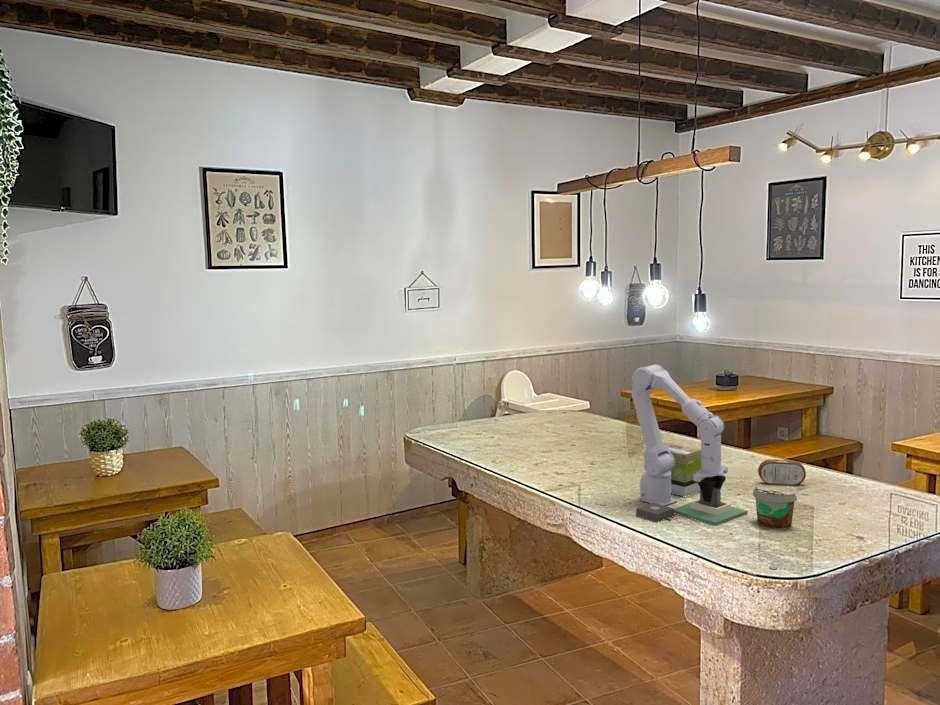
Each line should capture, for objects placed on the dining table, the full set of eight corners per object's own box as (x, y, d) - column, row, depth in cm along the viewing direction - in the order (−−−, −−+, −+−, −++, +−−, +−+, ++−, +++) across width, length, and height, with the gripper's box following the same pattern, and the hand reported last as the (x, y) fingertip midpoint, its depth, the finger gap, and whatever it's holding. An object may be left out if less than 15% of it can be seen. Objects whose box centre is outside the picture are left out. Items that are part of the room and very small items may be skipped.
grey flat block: (636, 515, 224) (636, 507, 224) (653, 510, 229) (653, 502, 228) (662, 524, 216) (662, 515, 216) (680, 518, 221) (680, 509, 220)
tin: (804, 484, 251) (805, 460, 250) (806, 486, 248) (806, 462, 247) (757, 482, 255) (758, 458, 255) (758, 484, 252) (759, 460, 252)
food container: (745, 523, 214) (745, 490, 213) (754, 518, 219) (754, 485, 218) (787, 533, 206) (788, 498, 205) (796, 527, 210) (797, 493, 209)
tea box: (647, 488, 251) (647, 446, 250) (664, 482, 258) (664, 441, 256) (685, 498, 240) (685, 453, 238) (702, 491, 246) (702, 448, 245)
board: (670, 512, 226) (670, 503, 226) (702, 501, 235) (702, 492, 235) (715, 525, 213) (715, 515, 213) (747, 513, 223) (747, 504, 222)
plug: (699, 506, 226) (700, 487, 225) (705, 504, 228) (705, 485, 227) (715, 510, 221) (716, 491, 221) (721, 508, 223) (722, 489, 223)
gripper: (707, 463, 215) (707, 508, 217) (736, 454, 224) (736, 498, 225) (687, 458, 221) (687, 502, 223) (716, 450, 230) (716, 493, 231)
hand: (710, 500), depth 224 cm, fingers closed on plug, 3 cm apart
